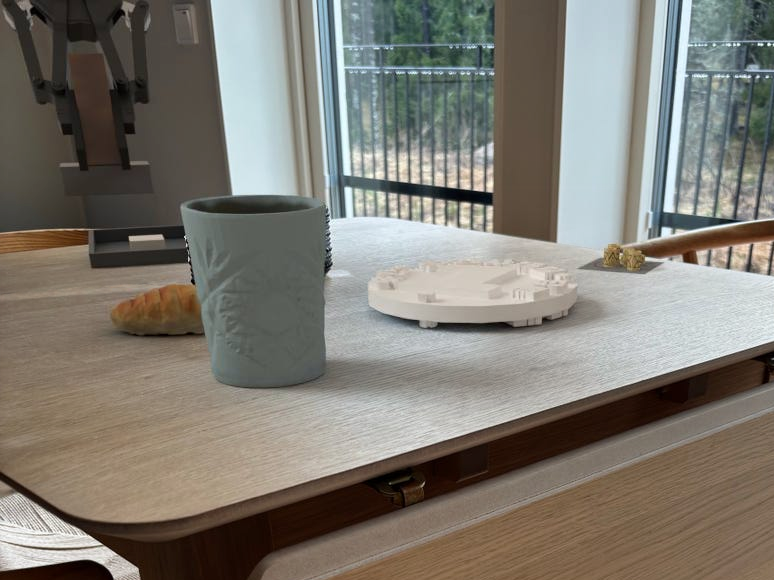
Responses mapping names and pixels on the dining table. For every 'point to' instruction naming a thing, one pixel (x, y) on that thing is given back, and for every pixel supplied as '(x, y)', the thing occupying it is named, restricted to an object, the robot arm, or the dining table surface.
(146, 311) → the pastry
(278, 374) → the grey-green embossed cup
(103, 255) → the tray
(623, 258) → the dice set
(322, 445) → the dining table surface
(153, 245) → the beige square block
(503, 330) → the dining table surface
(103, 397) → the dining table surface
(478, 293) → the white round plaque
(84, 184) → the brown grey t-shaped piece
